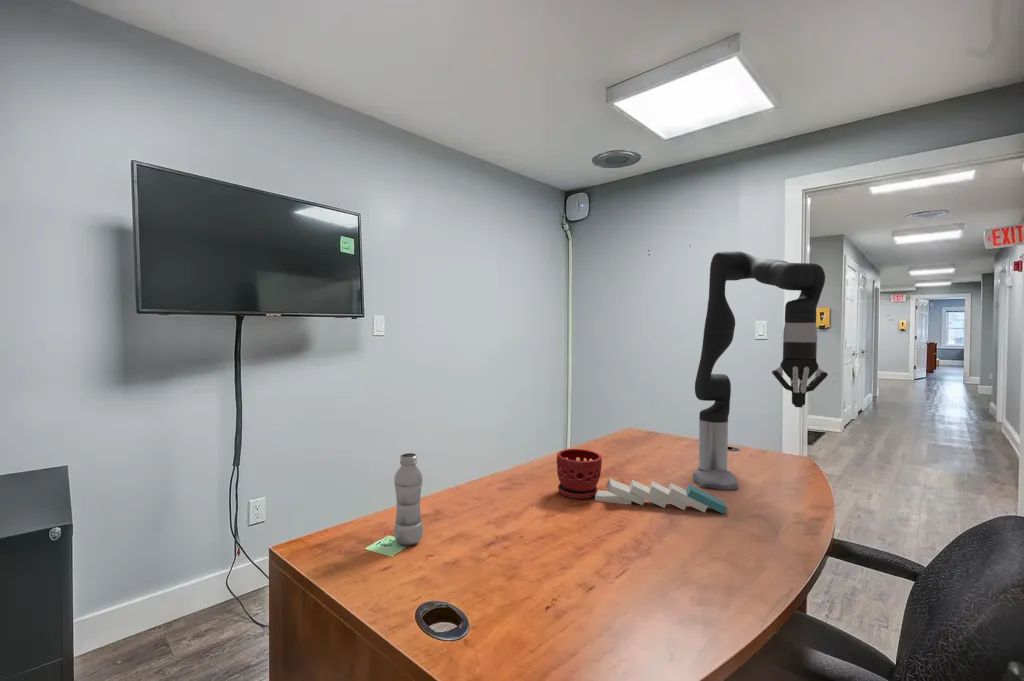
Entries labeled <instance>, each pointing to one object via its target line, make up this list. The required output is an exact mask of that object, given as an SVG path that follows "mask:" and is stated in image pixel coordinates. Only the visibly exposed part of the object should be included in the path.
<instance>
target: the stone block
mask: <svg viewBox="0 0 1024 681" xmlns="http://www.w3.org/2000/svg"><path fill="white" fill-rule="evenodd" d="M692 480H693V482H694V483H696V482H697V483H696V484H698V486H699V485H700V486H701V487H700V486H699V487H700V488H706V487H709V488H708V489H715V488H717V489H718V490H725V489H726V491H730V490H732V489H734V490H738V489H739V484H738V480H737V477H736V475H735V474H733V473H732V471H730V470H728V469H727V470H724V469H719V470H712V471H709V472H707V471H703V470H701V469H696V470H694V472H693V473H692Z"/></svg>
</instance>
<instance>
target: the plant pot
mask: <svg viewBox="0 0 1024 681" xmlns="http://www.w3.org/2000/svg"><path fill="white" fill-rule="evenodd" d="M577 458H579V460H577ZM602 459H603V457H602V455H601V453H598V452H597V451H594V450H588V449H584V448H583V449H582V448H568V449H567V448H566V449H563V450H559V452H557V454H556V466H557V467H556V468H557V469H556V473H557V477H558V480H559V484H558V485H557V487H558V488H557V489H558V491H559V493H561V495H563V496H565V497H567V498H571V499H578V500H579V499H580V500H584V499H590V498H593V497H595V495H596V492H597V491H598V490H599V488H598V487H597V485H598V483H599V480H600V478H601V474H602V462H603V460H602Z"/></svg>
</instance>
